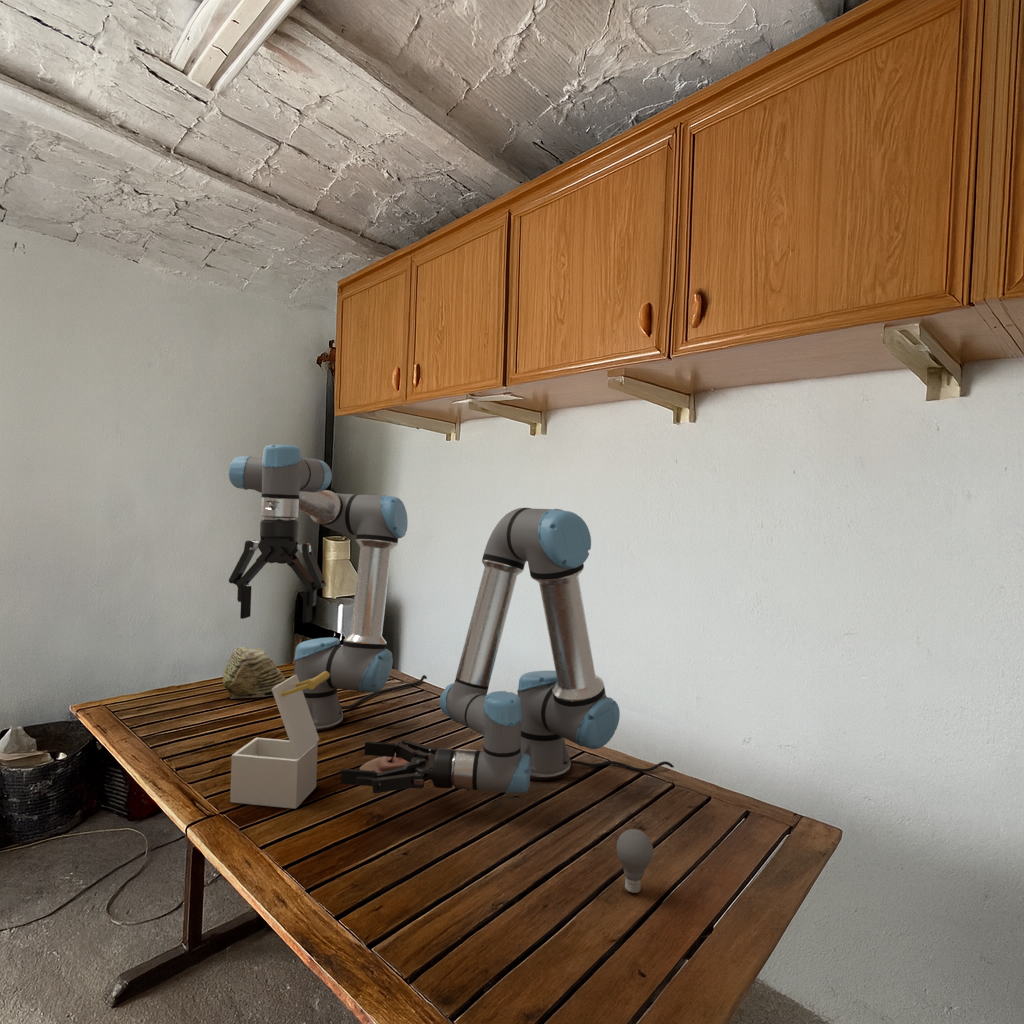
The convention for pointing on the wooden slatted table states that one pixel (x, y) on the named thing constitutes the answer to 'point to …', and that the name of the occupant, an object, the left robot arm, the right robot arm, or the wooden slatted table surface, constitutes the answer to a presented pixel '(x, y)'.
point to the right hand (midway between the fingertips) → (353, 761)
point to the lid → (298, 712)
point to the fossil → (251, 674)
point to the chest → (272, 774)
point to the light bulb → (634, 857)
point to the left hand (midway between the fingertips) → (275, 619)
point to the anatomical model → (384, 764)
